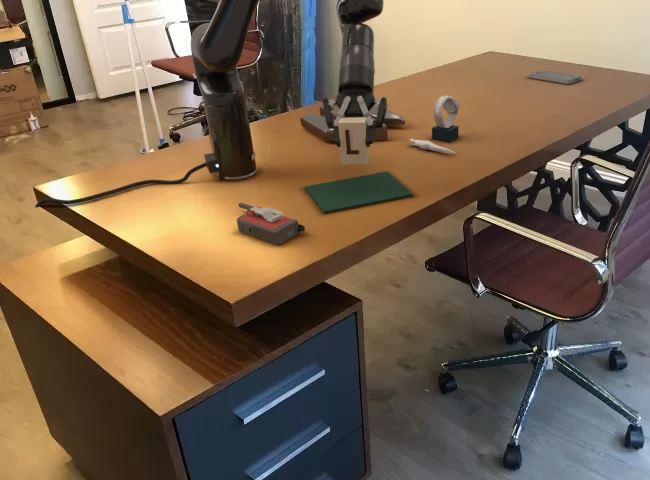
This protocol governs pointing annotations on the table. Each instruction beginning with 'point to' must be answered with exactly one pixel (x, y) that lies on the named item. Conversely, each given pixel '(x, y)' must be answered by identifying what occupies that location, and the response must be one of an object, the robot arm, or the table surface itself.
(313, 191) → the desk pad
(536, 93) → the table surface
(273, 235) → the walkie-talkie
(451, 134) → the watch
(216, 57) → the robot arm
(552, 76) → the phone case
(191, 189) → the table surface
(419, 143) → the white pointed spike
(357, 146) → the cream letter block
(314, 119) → the emblem
